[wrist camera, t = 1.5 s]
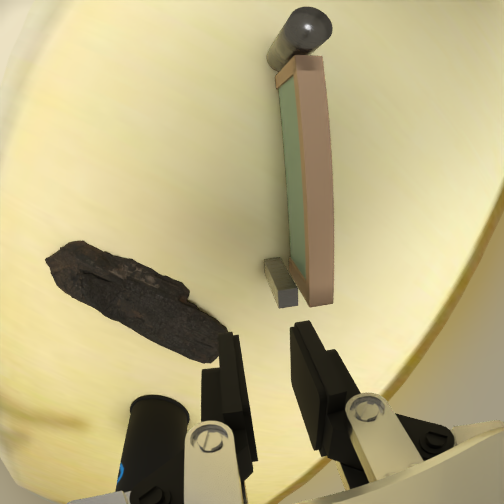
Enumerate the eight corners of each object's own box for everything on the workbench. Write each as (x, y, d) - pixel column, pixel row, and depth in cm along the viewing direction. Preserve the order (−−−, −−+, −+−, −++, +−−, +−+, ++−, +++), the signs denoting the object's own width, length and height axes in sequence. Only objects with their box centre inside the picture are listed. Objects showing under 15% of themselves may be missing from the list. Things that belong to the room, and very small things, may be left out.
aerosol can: (176, 390, 35) (168, 536, 16) (197, 428, 38) (201, 555, 19) (120, 397, 35) (90, 529, 16) (145, 434, 37) (132, 552, 19)
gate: (296, 76, 25) (322, 55, 18) (308, 270, 31) (333, 303, 24) (275, 76, 25) (294, 55, 18) (289, 272, 31) (309, 307, 24)
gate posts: (298, 46, 24) (331, 10, 16) (291, 273, 31) (318, 318, 23) (266, 42, 24) (288, 3, 15) (261, 274, 31) (279, 321, 23)
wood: (249, 316, 33) (253, 332, 30) (214, 362, 35) (215, 379, 32) (69, 211, 27) (56, 217, 24) (47, 268, 29) (34, 279, 26)
